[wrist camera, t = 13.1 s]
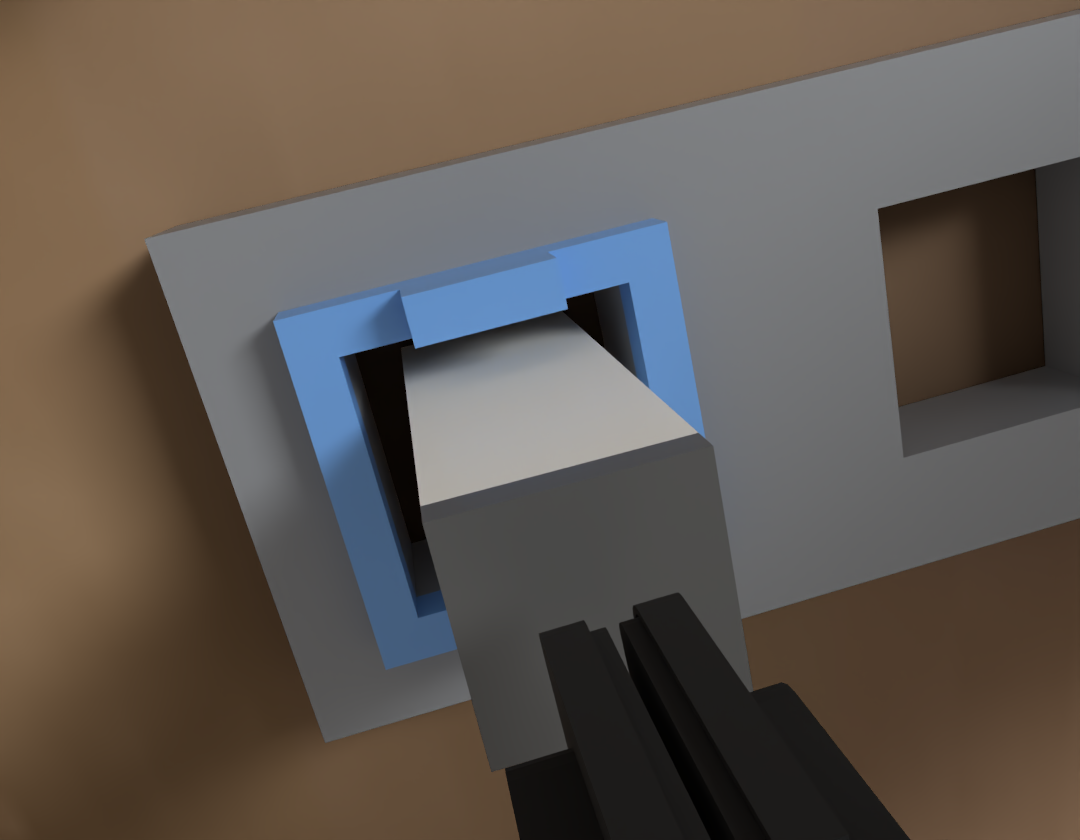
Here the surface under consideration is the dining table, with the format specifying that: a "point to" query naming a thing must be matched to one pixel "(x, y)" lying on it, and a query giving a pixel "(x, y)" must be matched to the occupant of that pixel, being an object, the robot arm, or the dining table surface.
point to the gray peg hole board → (649, 337)
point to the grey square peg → (557, 512)
